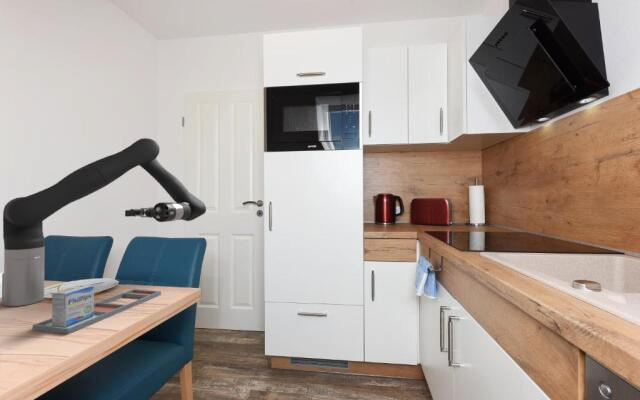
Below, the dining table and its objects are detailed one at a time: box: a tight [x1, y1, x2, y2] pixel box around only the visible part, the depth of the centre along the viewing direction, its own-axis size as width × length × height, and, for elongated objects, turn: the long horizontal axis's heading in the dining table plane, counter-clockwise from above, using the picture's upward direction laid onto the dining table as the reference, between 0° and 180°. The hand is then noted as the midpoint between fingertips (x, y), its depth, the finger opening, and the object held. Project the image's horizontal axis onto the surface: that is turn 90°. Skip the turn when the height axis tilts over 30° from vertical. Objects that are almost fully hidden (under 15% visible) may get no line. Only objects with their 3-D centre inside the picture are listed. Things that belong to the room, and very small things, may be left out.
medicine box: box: [51, 284, 95, 327], centre depth 82 cm, size 8×4×9 cm, turn 169°
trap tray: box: [32, 288, 162, 335], centre depth 92 cm, size 11×32×1 cm, turn 169°
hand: (136, 213), depth 105 cm, fingers open, 8 cm apart
